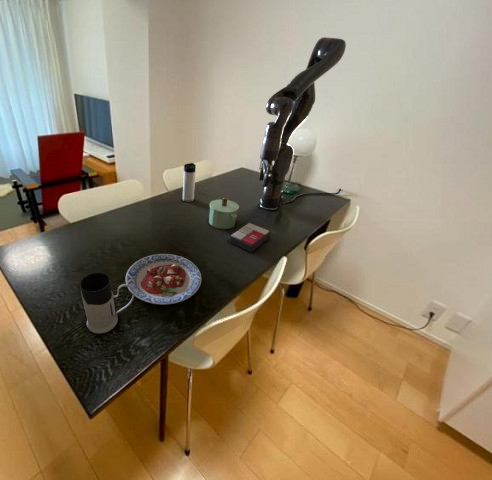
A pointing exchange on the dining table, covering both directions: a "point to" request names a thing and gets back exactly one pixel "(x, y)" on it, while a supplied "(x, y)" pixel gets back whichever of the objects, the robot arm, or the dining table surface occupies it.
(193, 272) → the ceramic plate
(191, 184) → the travel mug
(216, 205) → the pot lid
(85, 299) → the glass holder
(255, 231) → the black square box
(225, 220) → the pot
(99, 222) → the dining table surface
